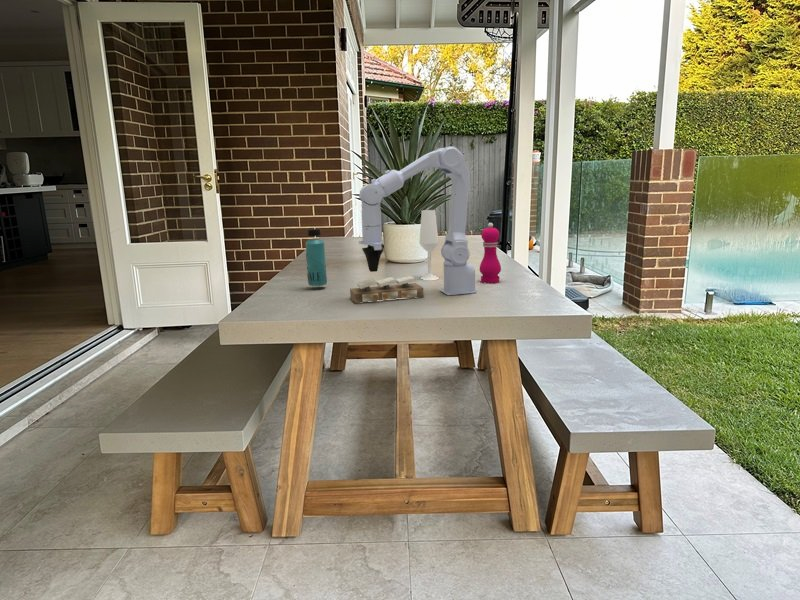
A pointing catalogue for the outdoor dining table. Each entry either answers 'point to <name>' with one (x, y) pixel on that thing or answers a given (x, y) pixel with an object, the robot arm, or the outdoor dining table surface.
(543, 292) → the outdoor dining table surface
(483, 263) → the pepper mill
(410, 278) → the switch
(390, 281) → the switch
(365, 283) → the switch
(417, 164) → the robot arm
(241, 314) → the outdoor dining table surface
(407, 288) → the switch unit
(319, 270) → the beverage bottle
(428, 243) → the champagne flute
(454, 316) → the outdoor dining table surface
